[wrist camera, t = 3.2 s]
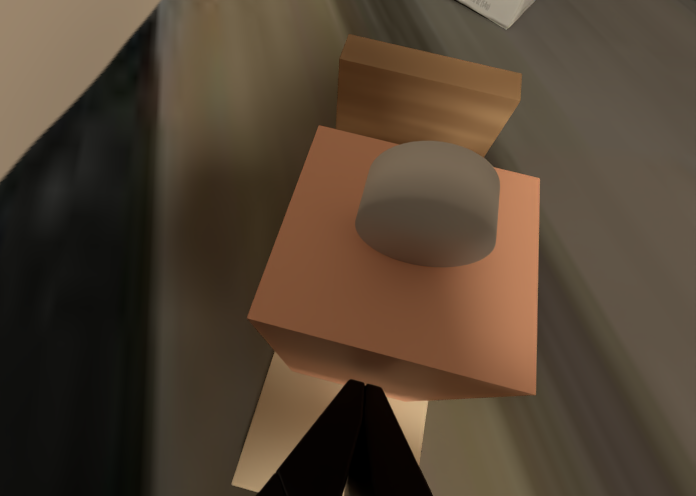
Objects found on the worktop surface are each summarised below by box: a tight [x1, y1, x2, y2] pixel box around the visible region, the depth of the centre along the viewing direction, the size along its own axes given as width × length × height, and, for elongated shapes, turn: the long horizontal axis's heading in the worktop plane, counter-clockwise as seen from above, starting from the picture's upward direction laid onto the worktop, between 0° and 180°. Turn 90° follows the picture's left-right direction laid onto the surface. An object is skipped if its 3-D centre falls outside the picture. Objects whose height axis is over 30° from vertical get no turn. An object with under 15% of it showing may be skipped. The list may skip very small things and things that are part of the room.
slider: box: [247, 125, 540, 402], centre depth 10 cm, size 4×5×12 cm
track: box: [231, 34, 522, 496], centre depth 14 cm, size 17×7×8 cm, turn 166°
